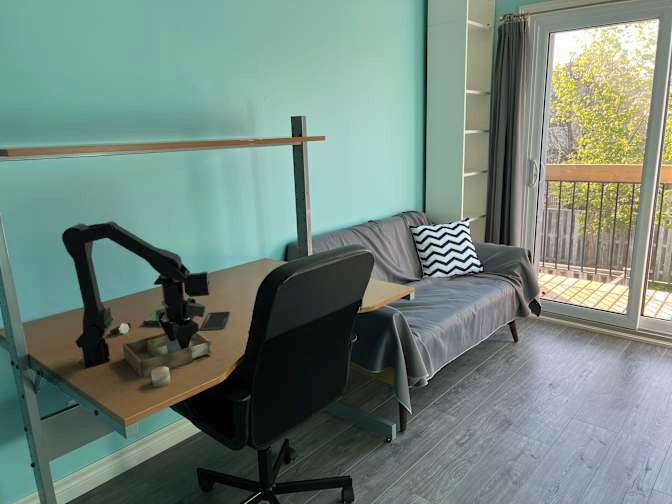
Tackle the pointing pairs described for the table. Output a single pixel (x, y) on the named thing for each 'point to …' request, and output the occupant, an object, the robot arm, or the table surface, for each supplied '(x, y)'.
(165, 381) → the stand
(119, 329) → the watch
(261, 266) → the table surface
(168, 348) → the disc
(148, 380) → the table surface
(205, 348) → the tray
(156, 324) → the disk drive
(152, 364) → the housing
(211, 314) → the phone
